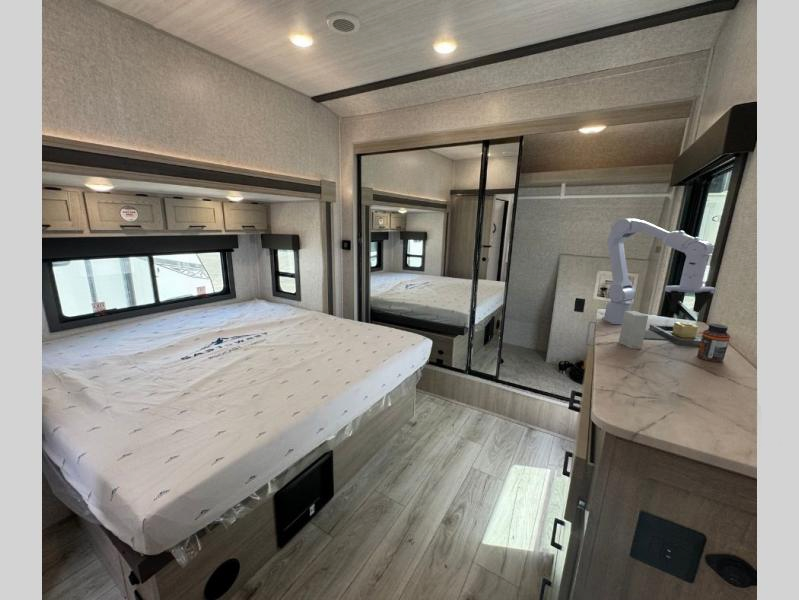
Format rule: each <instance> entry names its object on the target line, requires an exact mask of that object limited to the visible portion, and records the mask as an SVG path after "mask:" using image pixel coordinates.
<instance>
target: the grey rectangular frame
mask: <svg viewBox="0 0 799 600" xmlns="http://www.w3.org/2000/svg"><path fill="white" fill-rule="evenodd" d="M673 328H674V324H673V325H671V324H649V328H648V329H649V331H653V332H655V333H657V334H658V335H660V336H662V337H664V338H666V339H667V341H670V342H672V343H673V344H676V345H677V346H686V347H687V346H689V347H690V346H692V347H699V346H700V342H701V339H702V338H699V337H698V336H696V337H695V339H684V338H678V337H676V336H675V335H673V334H672V332H673Z"/></svg>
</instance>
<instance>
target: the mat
mask: <svg viewBox="0 0 799 600" xmlns="http://www.w3.org/2000/svg"><path fill="white" fill-rule="evenodd" d="M644 340H656V341H657V340H659V341H668V339H666V338H665V337H663V336H661V335H659V334H657V333H655V332H654V331H652V330H645V335H644Z"/></svg>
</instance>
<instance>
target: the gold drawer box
mask: <svg viewBox="0 0 799 600" xmlns="http://www.w3.org/2000/svg"><path fill="white" fill-rule="evenodd" d="M673 326H674V328H673V332H672V334H673V335H675V336H676V337H678V338H684V339H695V337H697V333H698V332H697V331H698V328H699V326H698V325H695V324H693V323H690V322H680V321H679V322H678V321H675V322H674V324H673Z"/></svg>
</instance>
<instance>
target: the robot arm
mask: <svg viewBox="0 0 799 600" xmlns="http://www.w3.org/2000/svg"><path fill="white" fill-rule="evenodd" d="M637 233H644V234H647V235H650V236H652V237H655V238H657V239H659V240H660V239H661V240H662V241H663V244H664V245H665V246H667V247H670V248H671V249H674V250H677V251H679V252H681V253H684V254H685V261H684V265H683V269H682V273H681V277H680V282H679V285H665V287H664V293H665V295H666V298H667V299H668V304H669V311H672V312H676V311H677V307H678V304H679V301H680V299H681V297H682V296H683V295H682V293H694V303H693V308H692V309H693V310H692V311H693V312H696V313H700V312H701V310H702V309H703V307H704V306H705V305H706V303H708V301H709V300H711V299H712V298H713V296H714V294H715V291H716V287H712V286H702V285H703V281H704V277H705V272H706V268H707V265H708V259H709V256H710V254H712V252H713V250H714V245H713V244H712V243H711V242H710V241H708V240H705V239H703V240H700V238H699V237H698V236H695V237H694V236H691V235H689V234H687V233H686V232H685V231H684V230H675V231H668V230H665V229H664V228H662V227H659V226H658V225H657V226H656V225H655V224H653V223H650V222H648V221H646V220H641V219H638V218H636V217H632V218H624V217H623V218H621V217H620V218H618V219H616V221H615V222H613V223H612V225H611V226H610V233H609V236H608V238H607V247H608V248H607V249H608V254H609V260H610V268H611V269H610V270H611V275H612V282H611V284H609V285H610V286H609V288H610V290H609V293H608V298H609V299H610V300H609V301H608V302H607V303H606V305H605V306H606V307H605V311H604V316H602V319H603V320H605V321H606V322H607V323H609V324H611V325H622V322H623V316H624V311H631V307H632V300H634V299H635V298H636V296H637V291H636V289H635V288H634V286H633V282H632V280H630V279H629V274H628V273H629V272H628V267H627V266H628V265H627V260H626V259H627V258H626V253H625V246H624V243H625V241H626V240H628V238H630V237H631V236H633V235H635V234H637Z"/></svg>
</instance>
